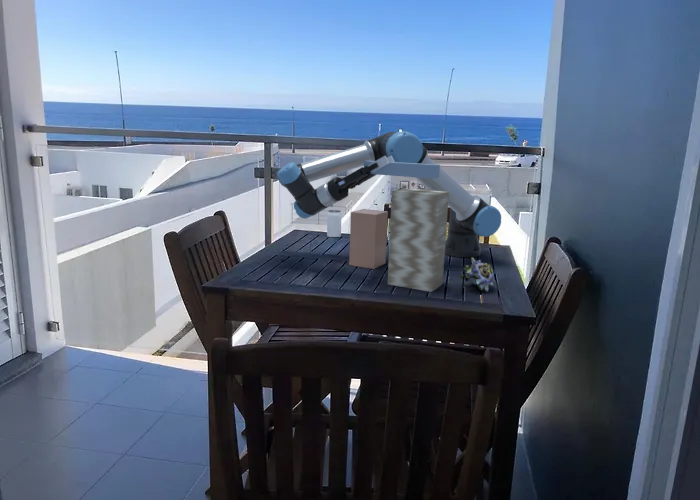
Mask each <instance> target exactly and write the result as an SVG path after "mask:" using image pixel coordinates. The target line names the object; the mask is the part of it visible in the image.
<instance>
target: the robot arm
mask: <svg viewBox="0 0 700 500" xmlns="http://www.w3.org/2000/svg"><path fill="white" fill-rule="evenodd" d="M364 161H375V162H373V163H371V164H370V165H368V166H365V167H364ZM389 162H402V163H419V164H437V163H436V162H435V161H434V160H433V159H432V158H430V157H429V151H428V149H427V148H426V147H425V146H424V145H423V143H422V141H421V140H420V138H419V137H418V136H417V135H416V134H414V133H413V132H412V133H411V132H410V131H388V132H386V133H383V134H380V135H379V136H376V137H373V138H370V139H368V140H365V141H364V143H363V144H361V145H356V146H354V147H350V148H347V149H344V150H340V151H338V152H334V153H331V154H326V155H323V156H320V157H317V158H313V159H310V160H307V161H304V162H303V161H302V162H300V163H298V164H296V163H295V162H293V161H290V162H289V163H286V164H285V165H284V166H283V167H281V169H279V170H278V171H277V173H276V176H277V178H278V181H279V182H278V183H280V185H281V186H282V187H284V188H285V189H287V191H288V192H289V193H290V195H291V196H292V197H293V199H294V200H295V201H294V202H293V208H294V210H295V213H296V215H297V216H298V217H299V218H301V219H305V220H306V219H309V218H310V217H311V218H312V217H313V216H315V215H317V214H319V213H320V212H322V211H324V210H325V209H327V208H329V207H330V208H332V207H334V204H336V203H338V202H340V201H343V199H344V200H345V199H346V198H348V196H349V191H350V190H352V189H355V188H356V187H357V186H360V185H362V184H363V183H365V182H366V181H368V180H370V179H372V178H373V177H375V176H376V174H371V173H373V172H375V171H377V170H379V169H381V168H382V167H384V166H386V165H388V164H389ZM357 168H358V169H357ZM354 169H357V170H355V171H353V172H352V173H349V174H348V175H346V176H344V177H342V178H341V177H339V176H336V177H333V178H332V179H330V180H328V181H327V182H325V183H323V184H322V185H320V186H318V187H317V188H315V187H314V186H313V185H312V184H311V183H312V182H315V181H318V180H320V179H325V178H327V177H330V176H335V175H338V174H341V173H343V172H344V173H345V172H348V171H351V170H354ZM370 171H371V173H370ZM414 178H415V179H416V180H417V181H418V182H419V183H421V184H422V185H423V186H424V187H425V188H427V190H432V191H444V192H449V199H448V208H449V222H448V223H449V224H448V235H447V236H446V241H445V255H447V256H449V257H456V258H477V257H480V256H481V253H482V252H481V251H482V249H481V245H480V241H479V237H491V236H493V235H494V234H495V233H497V232H498V230H499V229H500V227H501V224H502V214H501V211H500V210H499V209H498V208H496V207H495V206H493V205H489V204H488V203H487V202H486V201H485V200H484V199H482V197H480V196H479V195H477V194H476V195H475V194H474V195H472V194H471V193H470V192H468V191H467V190H466V189H465V188H464V187H463V186H462V185H461V184H459V183H458V181H456V180H455V179H454V178H452V177H451V175H449V174H448V173H447V172H446V171H445V170H444V169H443V168H442V167H440V172H439V178H436V179H433V178H419V177H414ZM478 236H479V237H478Z"/></svg>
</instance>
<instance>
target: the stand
mask: <svg viewBox="0 0 700 500" xmlns="http://www.w3.org/2000/svg"><path fill="white" fill-rule="evenodd" d="M448 199H449V192H444V191H432V190H429V189H418V188H417V189H416V188H407V187H406V188H398V189H394V190H391V199H390V200H391V203H390V204H391V205H390V224H389V225H390V227H389V245H388V263H387V267H388V268H387V269H388V270H387V285H390V286H396V287H402V288H406V289H413V290H419V291H424V292H431V293H432V292H434V291H436V290H437V289H438V288H439V287H441V286H442V285H443V281H444V270H445V269H444V266H445V256H446V254H445V242H446V239H447V226H448V223H447V222H448V212H449V211H448V210H449V206H448Z"/></svg>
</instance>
